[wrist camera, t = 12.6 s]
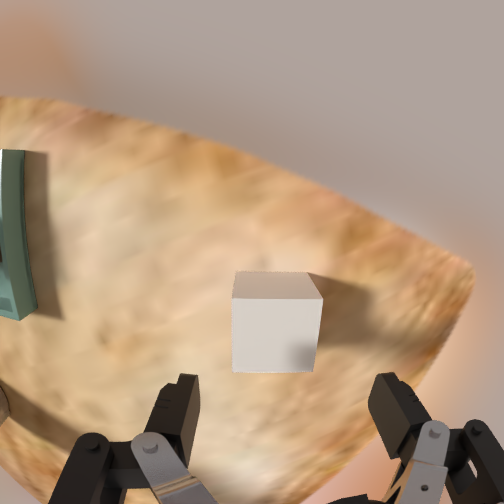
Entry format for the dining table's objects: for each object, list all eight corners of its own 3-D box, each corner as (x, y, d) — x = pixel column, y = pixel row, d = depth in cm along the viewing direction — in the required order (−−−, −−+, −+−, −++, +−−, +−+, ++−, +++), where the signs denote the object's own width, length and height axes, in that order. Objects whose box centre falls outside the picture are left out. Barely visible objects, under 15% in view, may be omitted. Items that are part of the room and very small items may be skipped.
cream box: (300, 333, 21) (312, 371, 17) (235, 332, 21) (232, 372, 17) (306, 271, 20) (323, 299, 15) (235, 270, 20) (231, 298, 15)
